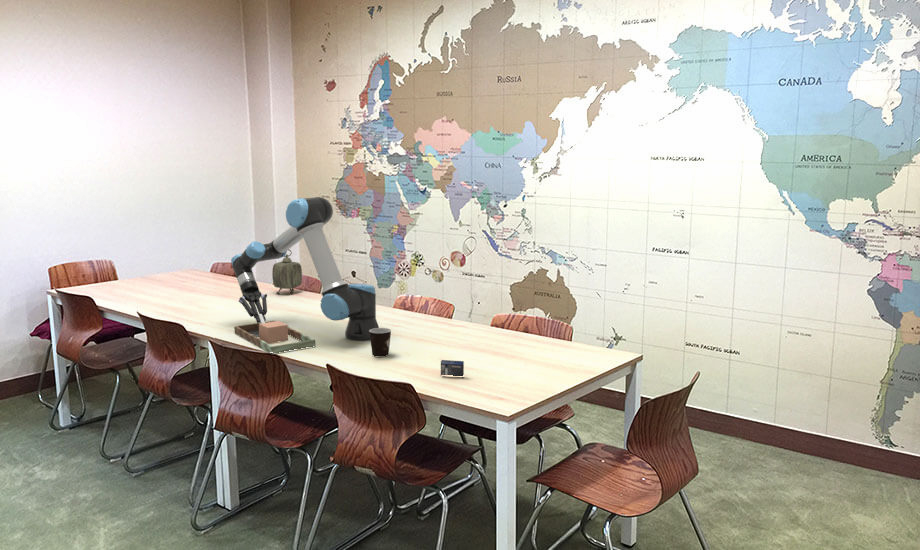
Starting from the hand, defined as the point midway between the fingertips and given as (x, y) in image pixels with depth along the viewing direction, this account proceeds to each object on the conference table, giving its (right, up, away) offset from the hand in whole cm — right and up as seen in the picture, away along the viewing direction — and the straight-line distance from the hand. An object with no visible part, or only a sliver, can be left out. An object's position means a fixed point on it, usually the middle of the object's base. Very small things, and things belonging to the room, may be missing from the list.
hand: (263, 327), depth 335 cm
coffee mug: (+53, -9, -30) cm, 62 cm away
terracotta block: (+6, -5, -7) cm, 10 cm away
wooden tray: (+6, -5, -7) cm, 10 cm away
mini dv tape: (+83, -14, -57) cm, 102 cm away
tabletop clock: (-9, +12, +90) cm, 92 cm away
